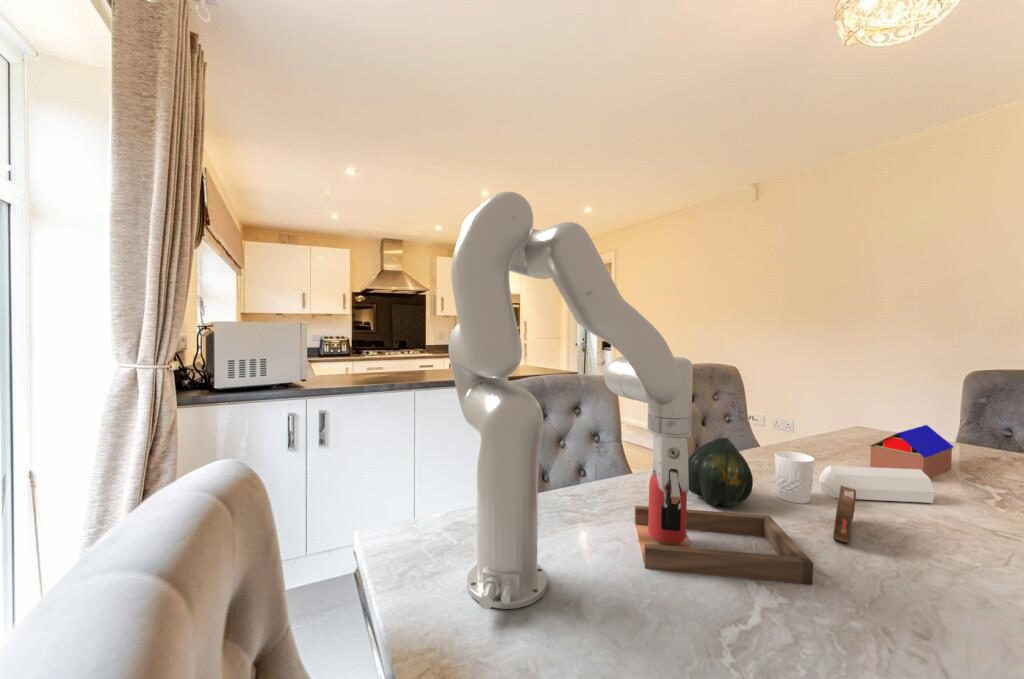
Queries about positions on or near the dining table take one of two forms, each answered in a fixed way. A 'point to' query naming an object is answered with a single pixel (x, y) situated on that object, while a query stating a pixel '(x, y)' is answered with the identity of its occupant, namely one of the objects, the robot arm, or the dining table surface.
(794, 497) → the white cup
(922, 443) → the house
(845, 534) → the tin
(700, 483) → the squash
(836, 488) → the crystal
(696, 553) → the frame
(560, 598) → the dining table surface
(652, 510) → the beer can
